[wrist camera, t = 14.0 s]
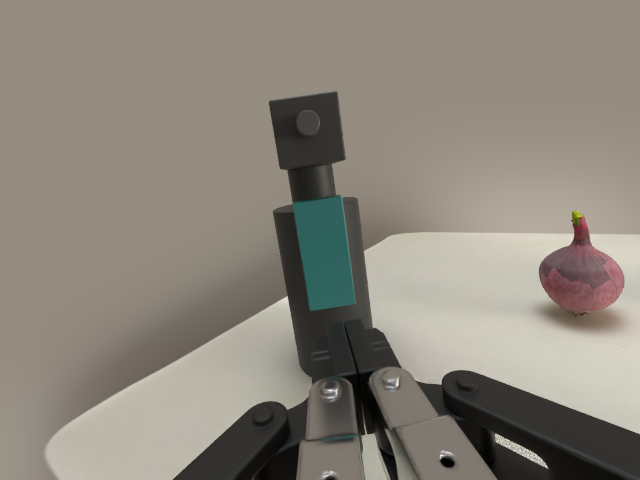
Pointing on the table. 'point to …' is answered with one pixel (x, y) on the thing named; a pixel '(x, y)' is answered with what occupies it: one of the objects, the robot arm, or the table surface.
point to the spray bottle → (307, 183)
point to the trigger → (324, 252)
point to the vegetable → (581, 274)
